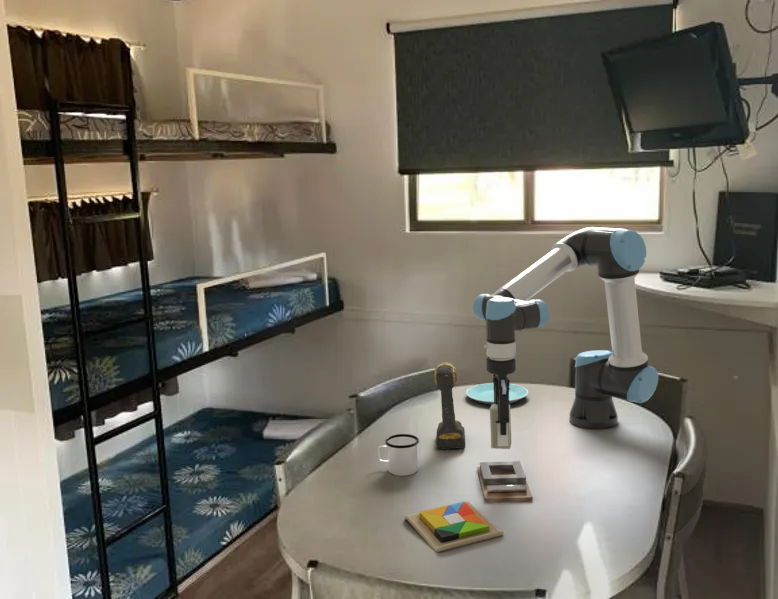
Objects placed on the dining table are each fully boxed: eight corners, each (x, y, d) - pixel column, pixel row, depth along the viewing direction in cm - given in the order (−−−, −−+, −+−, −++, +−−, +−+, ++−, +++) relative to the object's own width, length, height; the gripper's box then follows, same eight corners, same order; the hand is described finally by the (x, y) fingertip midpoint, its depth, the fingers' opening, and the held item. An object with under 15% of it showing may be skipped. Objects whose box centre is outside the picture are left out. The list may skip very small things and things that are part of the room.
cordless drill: (465, 428, 248) (463, 353, 243) (465, 452, 228) (463, 370, 224) (437, 428, 249) (435, 353, 244) (434, 452, 229) (432, 371, 225)
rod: (525, 489, 199) (525, 483, 199) (527, 492, 197) (527, 486, 197) (487, 490, 199) (487, 484, 199) (487, 493, 198) (487, 487, 197)
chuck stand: (520, 469, 215) (520, 459, 214) (532, 500, 195) (532, 489, 194) (477, 470, 215) (477, 460, 214) (485, 502, 195) (484, 491, 195)
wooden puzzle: (438, 556, 171) (438, 541, 170) (402, 521, 188) (402, 507, 187) (505, 538, 178) (505, 524, 177) (465, 506, 195) (465, 493, 194)
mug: (423, 465, 220) (423, 435, 218) (414, 478, 211) (413, 447, 209) (384, 461, 224) (383, 431, 222) (373, 474, 215) (371, 443, 213)
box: (511, 444, 207) (511, 404, 205) (509, 449, 203) (509, 409, 201) (492, 442, 209) (491, 403, 207) (490, 448, 205) (489, 408, 203)
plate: (463, 408, 269) (463, 400, 268) (468, 389, 290) (467, 381, 290) (528, 409, 265) (528, 401, 264) (528, 390, 286) (527, 382, 286)
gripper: (483, 349, 211) (483, 430, 215) (490, 366, 193) (491, 454, 197) (510, 348, 210) (510, 429, 215) (520, 365, 193) (520, 454, 197)
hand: (501, 441), depth 206 cm, fingers closed on box, 5 cm apart
